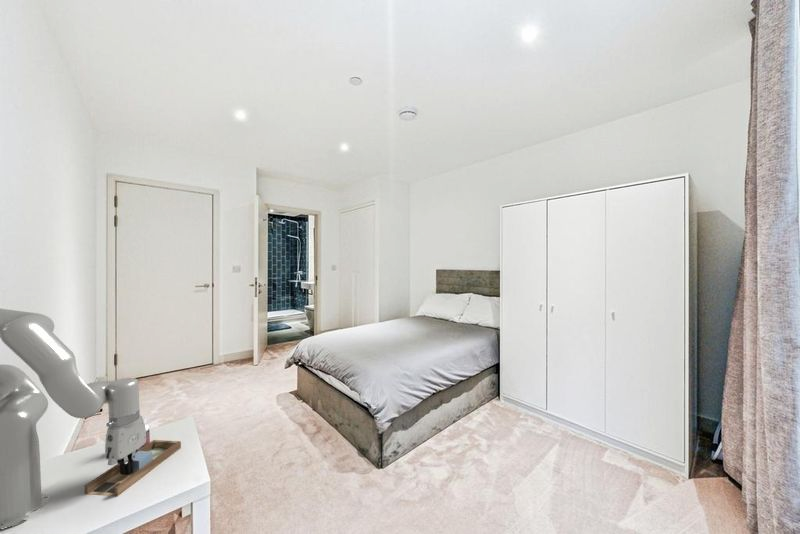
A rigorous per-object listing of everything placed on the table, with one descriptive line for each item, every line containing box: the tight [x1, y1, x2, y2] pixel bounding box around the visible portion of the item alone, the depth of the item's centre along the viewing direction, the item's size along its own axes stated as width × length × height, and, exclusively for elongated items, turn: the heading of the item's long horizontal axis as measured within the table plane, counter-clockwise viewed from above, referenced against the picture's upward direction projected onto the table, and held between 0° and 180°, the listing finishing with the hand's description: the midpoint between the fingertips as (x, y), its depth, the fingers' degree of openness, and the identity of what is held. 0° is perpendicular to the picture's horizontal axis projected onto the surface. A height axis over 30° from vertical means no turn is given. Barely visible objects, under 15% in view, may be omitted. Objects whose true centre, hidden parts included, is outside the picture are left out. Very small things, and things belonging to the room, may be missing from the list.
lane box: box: [84, 439, 182, 497], centre depth 107 cm, size 11×24×4 cm, turn 174°
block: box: [133, 451, 153, 472], centre depth 107 cm, size 5×5×4 cm
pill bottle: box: [137, 418, 151, 451], centre depth 118 cm, size 6×6×11 cm
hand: (126, 472), depth 103 cm, fingers closed
